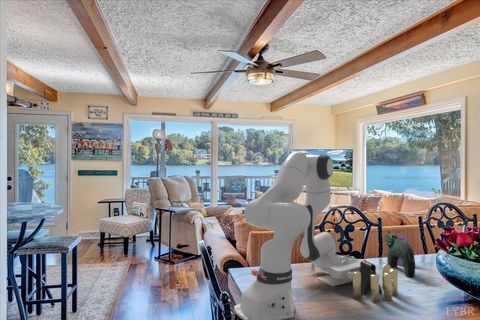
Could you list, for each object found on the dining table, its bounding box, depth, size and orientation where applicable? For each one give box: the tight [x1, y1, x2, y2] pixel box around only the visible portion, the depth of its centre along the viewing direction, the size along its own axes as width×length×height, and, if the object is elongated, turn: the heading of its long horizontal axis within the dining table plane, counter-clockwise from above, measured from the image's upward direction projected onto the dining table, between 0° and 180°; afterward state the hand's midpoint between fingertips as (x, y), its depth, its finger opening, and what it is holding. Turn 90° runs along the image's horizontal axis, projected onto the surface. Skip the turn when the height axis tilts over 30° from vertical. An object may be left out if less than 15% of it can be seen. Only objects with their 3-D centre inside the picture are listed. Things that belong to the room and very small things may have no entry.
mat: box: [316, 273, 353, 287], centre depth 145 cm, size 16×10×1 cm, turn 122°
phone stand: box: [359, 260, 383, 296], centre depth 131 cm, size 9×6×12 cm, turn 106°
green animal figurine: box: [384, 229, 416, 278], centre depth 157 cm, size 20×6×20 cm, turn 4°
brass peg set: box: [352, 263, 399, 304], centre depth 127 cm, size 22×10×10 cm, turn 122°
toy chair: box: [396, 233, 408, 266], centre depth 170 cm, size 8×9×15 cm
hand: (365, 274), depth 132 cm, fingers open, 8 cm apart
